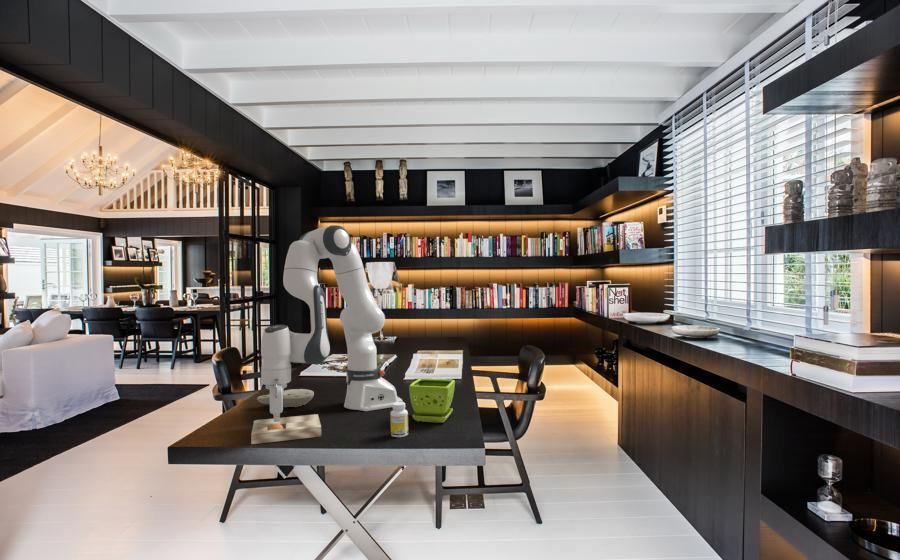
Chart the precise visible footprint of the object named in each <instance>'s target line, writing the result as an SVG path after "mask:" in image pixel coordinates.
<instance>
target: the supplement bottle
mask: <svg viewBox="0 0 900 560" xmlns="http://www.w3.org/2000/svg"><path fill="white" fill-rule="evenodd" d="M390 435H391V437H393V438H394V437H395V438H403V437H406V436H408V435H409V413H408V410H407V409H406V403H405V402H404V401H403V402H395V403H393V407H392V410H391V411H390Z"/></svg>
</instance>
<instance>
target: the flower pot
mask: <svg viewBox="0 0 900 560" xmlns="http://www.w3.org/2000/svg"><path fill="white" fill-rule="evenodd" d="M455 385H456V381H455V380H454V379H446V378H445V379H443V378H417V379H416V380H415V381H412V382H411V384H409V386H408V390H409V391H408V392H409V399H410V403H411V407H412V410H413V412H414V413H413V414H412V416H411V417H412V418H413V420H415V421H416V422H420V421H421V422H426V423H441V424H442V423H445V422H446V420H447V419H448V418H449V417H450V415H451V414H452V413H453V411H454V410H453V408H450V407H451V404H452V402H453V398H454V393H455V387H456V386H455Z"/></svg>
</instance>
